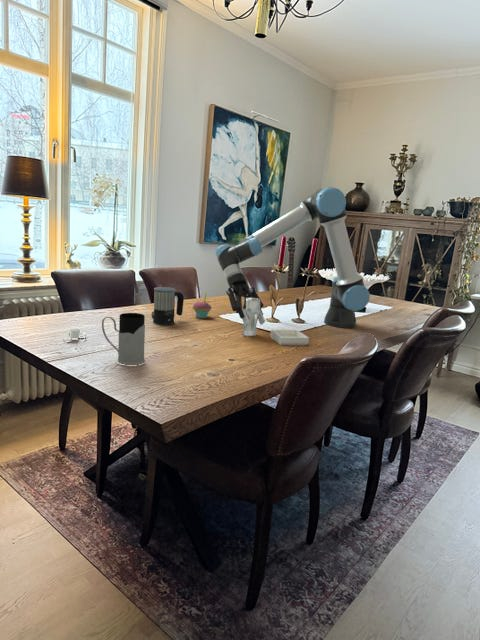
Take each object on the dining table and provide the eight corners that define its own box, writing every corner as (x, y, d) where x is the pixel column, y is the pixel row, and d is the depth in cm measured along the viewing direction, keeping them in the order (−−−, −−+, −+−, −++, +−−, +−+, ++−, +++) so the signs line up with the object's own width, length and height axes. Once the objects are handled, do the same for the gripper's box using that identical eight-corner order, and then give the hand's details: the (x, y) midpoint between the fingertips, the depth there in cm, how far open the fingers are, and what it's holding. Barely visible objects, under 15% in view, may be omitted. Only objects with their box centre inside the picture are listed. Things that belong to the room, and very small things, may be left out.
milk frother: (164, 326, 180) (165, 291, 177) (136, 319, 188) (137, 285, 185) (185, 321, 192) (187, 288, 189) (159, 314, 200) (160, 282, 197)
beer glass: (256, 337, 174) (259, 301, 171) (239, 335, 176) (242, 299, 172) (258, 333, 181) (261, 298, 178) (242, 331, 182) (245, 296, 179)
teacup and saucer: (82, 336, 160) (82, 325, 159) (93, 341, 154) (93, 330, 153) (59, 339, 154) (58, 328, 153) (68, 345, 148) (68, 334, 147)
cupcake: (214, 317, 204) (215, 292, 201) (203, 320, 196) (204, 294, 194) (199, 313, 208) (201, 289, 205) (188, 316, 201) (189, 291, 198)
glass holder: (138, 368, 131) (140, 320, 128) (95, 362, 134) (95, 314, 130) (149, 359, 140) (151, 314, 136) (108, 353, 142) (108, 309, 138)
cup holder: (296, 336, 181) (297, 329, 180) (308, 345, 170) (309, 337, 170) (270, 336, 178) (271, 329, 177) (280, 345, 167) (281, 337, 166)
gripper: (249, 282, 192) (269, 326, 183) (211, 283, 180) (230, 330, 171) (258, 271, 186) (279, 317, 178) (219, 272, 174) (239, 321, 166)
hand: (255, 323), depth 174 cm, fingers open, 7 cm apart
